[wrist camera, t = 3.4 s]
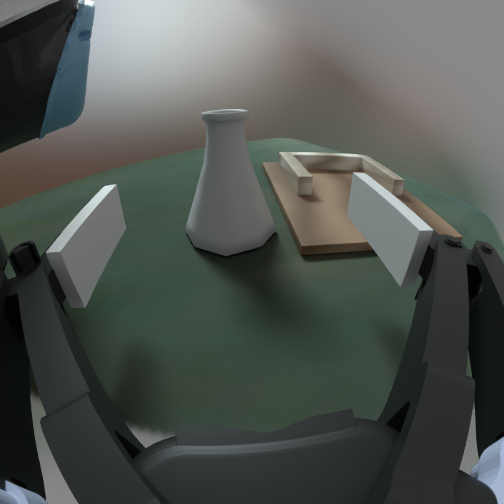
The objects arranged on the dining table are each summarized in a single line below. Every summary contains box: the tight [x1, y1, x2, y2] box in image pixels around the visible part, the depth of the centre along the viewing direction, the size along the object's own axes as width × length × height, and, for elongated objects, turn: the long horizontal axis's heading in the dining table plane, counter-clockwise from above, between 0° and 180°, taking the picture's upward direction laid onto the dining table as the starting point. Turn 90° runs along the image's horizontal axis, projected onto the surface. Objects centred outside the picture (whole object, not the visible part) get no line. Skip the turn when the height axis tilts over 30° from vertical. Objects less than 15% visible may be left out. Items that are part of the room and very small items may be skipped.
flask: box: [186, 109, 277, 256], centre depth 21 cm, size 7×7×10 cm
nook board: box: [262, 152, 462, 255], centre depth 29 cm, size 17×22×3 cm
